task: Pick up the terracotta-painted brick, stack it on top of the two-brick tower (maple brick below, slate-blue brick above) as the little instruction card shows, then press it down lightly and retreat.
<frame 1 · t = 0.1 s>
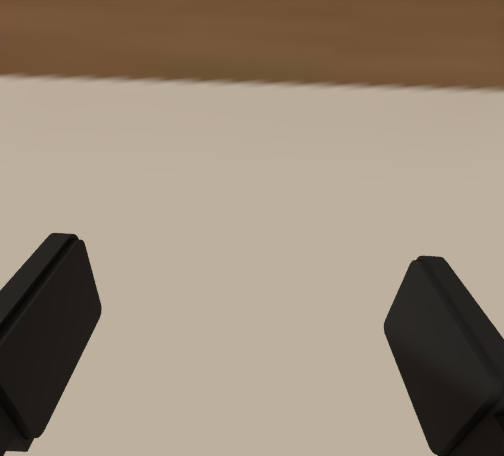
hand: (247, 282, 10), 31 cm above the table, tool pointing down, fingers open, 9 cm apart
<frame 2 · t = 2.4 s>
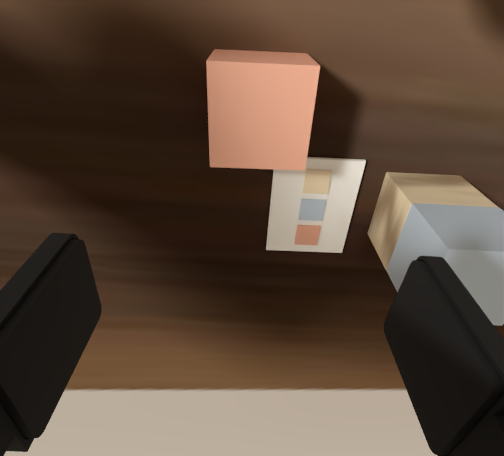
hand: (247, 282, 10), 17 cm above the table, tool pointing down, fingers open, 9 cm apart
slate blue brick: (438, 240, 24), point 5 cm above the table, touching maple brick
terracotta brick: (258, 99, 23), on the table
instruction card: (311, 207, 28), on the table
maple brick: (411, 205, 28), on the table, touching slate blue brick
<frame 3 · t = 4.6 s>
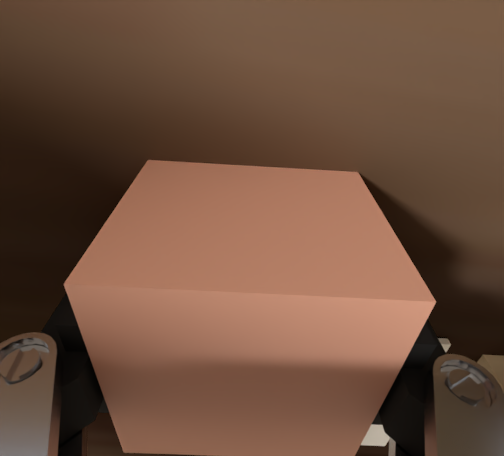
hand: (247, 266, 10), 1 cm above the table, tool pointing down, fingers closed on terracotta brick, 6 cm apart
terracotta brick: (248, 249, 11), on the table, touching gripper
instruction card: (339, 394, 16), on the table
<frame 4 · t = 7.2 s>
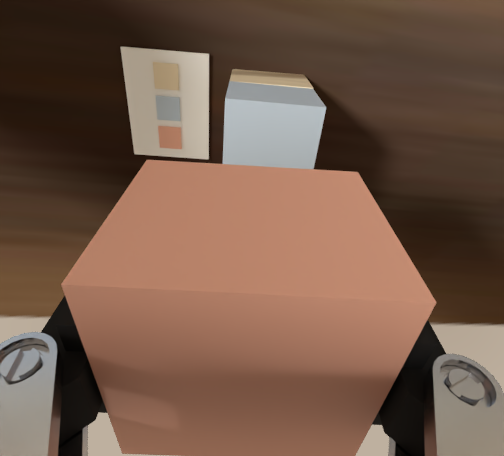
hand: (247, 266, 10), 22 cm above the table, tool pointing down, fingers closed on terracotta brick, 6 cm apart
slate blue brick: (266, 126, 25), point 5 cm above the table, touching maple brick
terracotta brick: (247, 249, 11), point 21 cm above the table, touching gripper
instruction card: (169, 107, 29), on the table
maple brick: (265, 108, 29), on the table, touching slate blue brick
when the fingers open (12 cm above the table, at t = 9.6 s): terracotta brick drops 1 cm, resting on slate blue brick.
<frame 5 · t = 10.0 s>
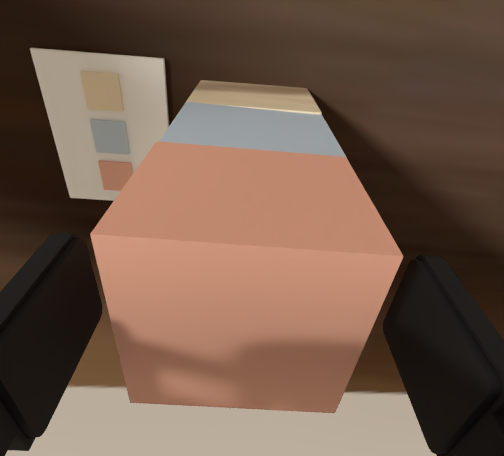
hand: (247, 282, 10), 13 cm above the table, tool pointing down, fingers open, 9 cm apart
slate blue brick: (248, 170, 16), point 5 cm above the table, touching maple brick, terracotta brick
terracotta brick: (245, 227, 12), point 10 cm above the table, touching slate blue brick
instruction card: (112, 135, 20), on the table
maple brick: (250, 136, 20), on the table, touching slate blue brick
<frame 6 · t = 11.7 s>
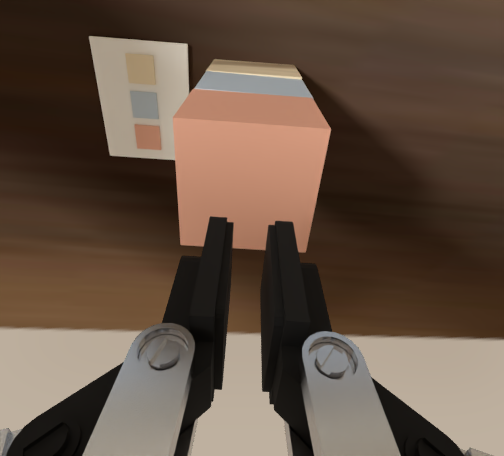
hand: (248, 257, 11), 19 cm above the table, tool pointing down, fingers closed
slate blue brick: (250, 123, 22), point 5 cm above the table, touching maple brick, terracotta brick
terracotta brick: (249, 150, 18), point 10 cm above the table, touching slate blue brick
instruction card: (146, 104, 27), on the table
maple brick: (251, 103, 27), on the table, touching slate blue brick
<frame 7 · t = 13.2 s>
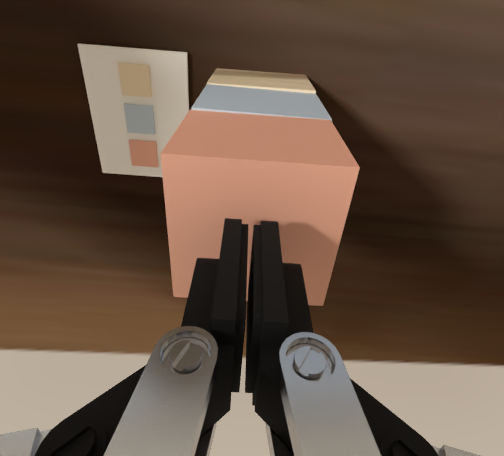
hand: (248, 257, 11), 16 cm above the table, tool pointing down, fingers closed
slate blue brick: (256, 141, 20), point 5 cm above the table, touching maple brick, terracotta brick
terracotta brick: (255, 178, 16), point 10 cm above the table, touching slate blue brick
instruction card: (141, 117, 24), on the table
maple brick: (257, 116, 24), on the table, touching slate blue brick
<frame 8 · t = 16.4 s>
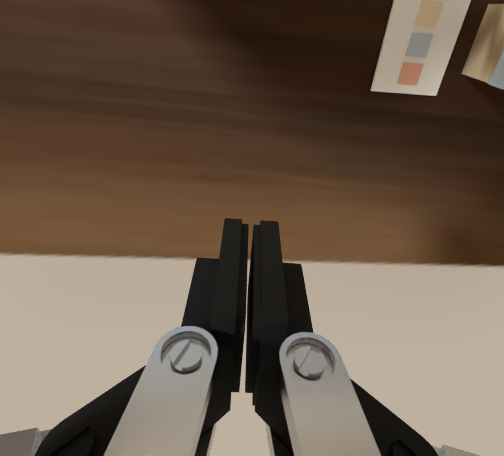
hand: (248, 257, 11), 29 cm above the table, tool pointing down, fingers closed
instruction card: (417, 44, 33), on the table
maple brick: (503, 42, 33), on the table, touching slate blue brick
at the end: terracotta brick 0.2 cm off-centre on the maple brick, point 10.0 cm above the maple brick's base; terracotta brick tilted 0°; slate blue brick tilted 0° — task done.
